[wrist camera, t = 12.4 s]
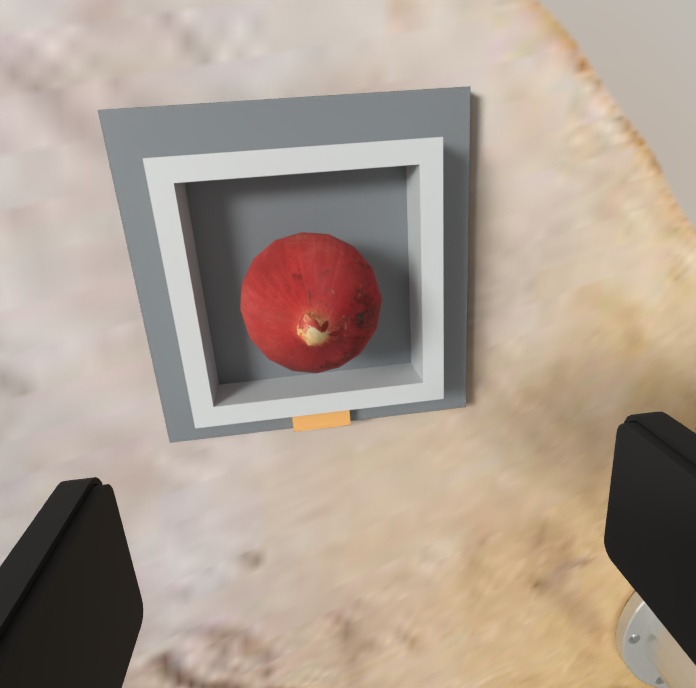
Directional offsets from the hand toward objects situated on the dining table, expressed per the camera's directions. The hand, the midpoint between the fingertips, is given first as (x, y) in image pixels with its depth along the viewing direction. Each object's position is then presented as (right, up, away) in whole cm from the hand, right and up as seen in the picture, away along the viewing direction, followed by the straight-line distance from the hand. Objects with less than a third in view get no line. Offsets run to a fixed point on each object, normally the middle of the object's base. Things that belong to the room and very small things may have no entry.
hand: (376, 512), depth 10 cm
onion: (-3, +6, +16) cm, 17 cm away
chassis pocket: (-3, +7, +17) cm, 18 cm away
